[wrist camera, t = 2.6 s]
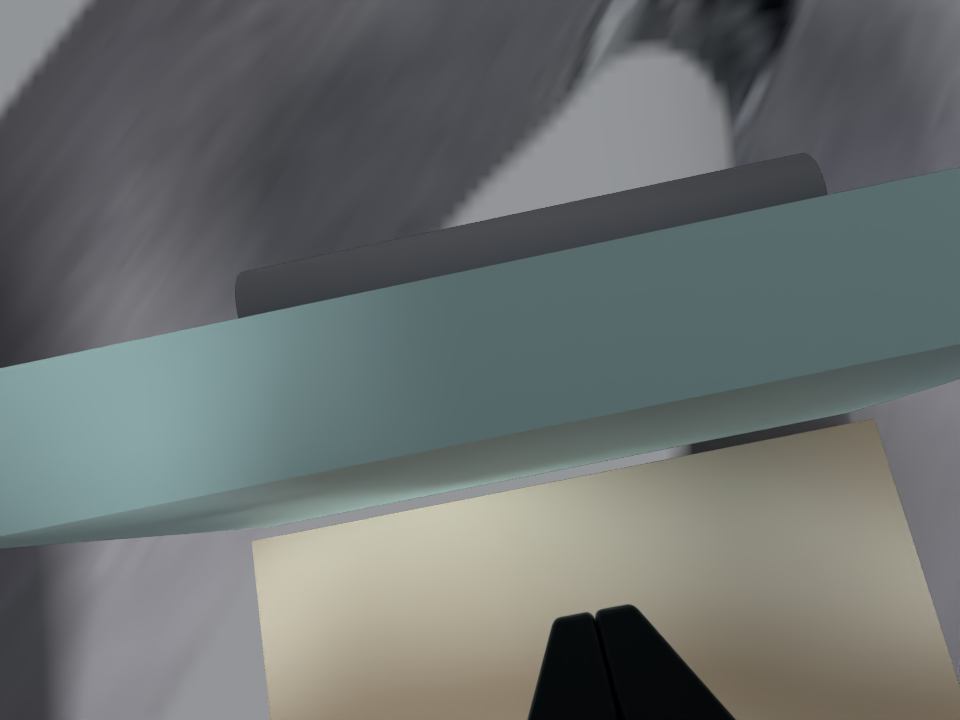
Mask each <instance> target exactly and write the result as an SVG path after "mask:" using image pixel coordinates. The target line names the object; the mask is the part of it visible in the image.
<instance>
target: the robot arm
mask: <svg viewBox="0 0 960 720" xmlns="http://www.w3.org/2000/svg"><path fill="white" fill-rule="evenodd" d="M527 720H736V719H735V718H734V716H733V715H732V714H731V713H730V712H729V711H728V710H727V709H726V707H725V706H724V705H723V704H722V703H721V702H720V701H719V700H718V698H717V697H716V696H715V695H714V694H713V693H712V692H711V690H710V689H709V688H708V687H707V686H706V685H705V684H704V683H703V681H702V680H701V679H700V678H699V677H698V676H697V675H696V674H695V672H694V671H693V670H692V669H691V668H690V667H689V666H688V665H687V663H686V662H685V661H684V660H683V659H682V658H681V657H680V655H679V654H678V653H677V652H676V651H675V650H674V649H673V648H672V646H671V645H670V644H669V643H668V642H667V641H666V640H665V639H664V637H663V636H662V635H661V634H660V633H659V632H658V631H657V629H656V628H655V627H654V626H653V625H652V624H651V623H650V622H649V620H648V619H647V618H646V617H645V616H644V615H643V614H642V613H641V611H640V610H639V609H638V608H636V607H635V606H634V605H631V604H625V605H620V606H614V607H609V608H604V609H600V610H598V611H597V612H596V614H595V618H594V616H593V615H592V614H591V613H589V612H583V613H578V614H572V615H567V616H562V617H558V618H556V619H555V620H554V622H553V624H552V626H551V630H550V633H549V637H548V641H547V645H546V649H545V653H544V656H543V660H542V664H541V668H540V672H539V676H538V679H537V683H536V687H535V691H534V695H533V699H532V702H531V706H530V710H529V714H528V718H527Z"/></svg>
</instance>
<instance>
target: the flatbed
mask: <svg viewBox="0 0 960 720" xmlns="http://www.w3.org/2000/svg"><path fill="white" fill-rule="evenodd" d="M252 549H253V559H254V568H255V578H256V586H257V596H258V605H259V615H260V624H261V634H262V643H263V653H264V661H265V671H266V681H267V689H268V699H269V708H270V718H271V720H527V718H528V714H529V710H530V706H531V702H532V699H533V695H534V691H535V687H536V683H537V679H538V676H539V672H540V668H541V664H542V660H543V656H544V653H545V649H546V645H547V641H548V637H549V633H550V630H551V626H552V624H553V622H554V620H555V619H556V618H558V617H562V616H567V615H572V614H578V613H583V612H589V613H591V614H592V615H593V616H594V618H595V614H596V612H597V611H598V610H600V609H604V608H609V607H614V606H620V605H625V604H631V605H634V606H635V607H636V608H638V609H639V610H640V611H641V613H642V614H643V615H644V616H645V617H646V618H647V619H648V620H649V622H650V623H651V624H652V625H653V626H654V627H655V628H656V629H657V631H658V632H659V633H660V634H661V635H662V636H663V637H664V639H665V640H666V641H667V642H668V643H669V644H670V645H671V646H672V648H673V649H674V650H675V651H676V652H677V653H678V654H679V655H680V657H681V658H682V659H683V660H684V661H685V662H686V663H687V665H688V666H689V667H690V668H691V669H692V670H693V671H694V672H695V674H696V675H697V676H698V677H699V678H700V679H701V680H702V681H703V683H704V684H705V685H706V686H707V687H708V688H709V689H710V690H711V692H712V693H713V694H714V695H715V696H716V697H717V698H718V700H719V701H720V702H721V703H722V704H723V705H724V706H725V707H726V709H727V710H728V711H729V712H730V713H731V714H732V715H733V716H734V718H735V719H736V720H960V686H959V682H958V679H957V676H956V673H955V670H954V667H953V664H952V661H951V657H950V654H949V651H948V648H947V645H946V642H945V639H944V636H943V633H942V629H941V626H940V623H939V620H938V617H937V614H936V611H935V608H934V604H933V601H932V598H931V595H930V592H929V589H928V586H927V583H926V579H925V576H924V573H923V570H922V567H921V564H920V561H919V558H918V555H917V551H916V548H915V545H914V542H913V539H912V536H911V533H910V530H909V526H908V523H907V520H906V517H905V514H904V511H903V508H902V505H901V502H900V498H899V495H898V492H897V489H896V486H895V483H894V480H893V477H892V473H891V470H890V467H889V464H888V461H887V458H886V455H885V452H884V449H883V445H882V442H881V439H880V436H879V433H878V430H877V427H876V424H875V420H874V419H869V420H864V421H859V422H854V423H849V424H844V425H839V426H834V427H828V428H823V429H818V430H813V431H808V432H803V433H798V434H793V435H788V436H783V437H778V438H773V439H768V440H763V441H757V442H752V443H747V444H742V445H737V446H732V447H727V448H722V449H717V450H712V451H707V452H702V453H697V454H692V455H686V456H681V457H676V458H671V459H666V460H661V461H656V462H651V463H646V464H641V465H636V466H631V467H626V468H621V469H616V470H610V471H605V472H601V473H595V474H590V475H585V476H580V477H576V478H570V479H565V480H560V481H555V482H550V483H545V484H539V485H535V486H529V487H524V488H519V489H515V490H510V491H504V492H499V493H494V494H489V495H484V496H479V497H474V498H468V499H463V500H459V501H454V502H448V503H443V504H438V505H433V506H428V507H423V508H418V509H413V510H408V511H403V512H397V513H393V514H387V515H382V516H378V517H372V518H367V519H362V520H357V521H352V522H347V523H342V524H337V525H332V526H326V527H322V528H316V529H311V530H306V531H301V532H296V533H291V534H286V535H281V536H276V537H271V538H266V539H260V540H255V541H252Z"/></svg>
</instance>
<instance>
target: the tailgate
mask: <svg viewBox="0 0 960 720" xmlns="http://www.w3.org/2000/svg"><path fill="white" fill-rule="evenodd" d="M235 297H236V307H237V313H238V318H239V319H234V320H229V321H224V322H219V323H215V324H210V325H205V326H200V327H196V328H191V329H186V330H181V331H176V332H172V333H167V334H162V335H157V336H153V337H148V338H143V339H138V340H134V341H129V342H124V343H119V344H114V345H110V346H105V347H100V348H95V349H91V350H86V351H81V352H76V353H71V354H67V355H62V356H57V357H52V358H48V359H43V360H38V361H33V362H29V363H24V364H19V365H14V366H9V367H5V368H0V548H13V547H25V546H38V545H50V544H63V543H76V542H88V541H101V540H114V539H126V538H139V537H152V536H164V535H177V534H190V533H202V532H215V531H228V530H240V529H253V528H266V527H274V526H279V525H284V524H289V523H293V522H299V521H304V520H309V519H314V518H319V517H324V516H329V515H334V514H339V513H344V512H349V511H354V510H360V509H365V508H369V507H374V506H380V505H384V504H390V503H395V502H400V501H405V500H410V499H415V498H420V497H425V496H430V495H435V494H440V493H446V492H450V491H455V490H460V489H466V488H471V487H476V486H481V485H486V484H491V483H496V482H501V481H506V480H511V479H516V478H521V477H526V476H531V475H536V474H541V473H546V472H552V471H557V470H561V469H567V468H572V467H577V466H582V465H587V464H592V463H597V462H602V461H607V460H612V459H618V458H623V457H628V456H633V455H637V454H643V453H647V452H652V451H658V450H663V449H668V448H673V447H678V446H683V445H688V444H693V443H698V442H703V441H709V440H714V439H719V438H724V437H729V436H734V435H739V434H744V433H749V432H754V431H759V430H764V429H769V428H774V427H779V426H784V425H789V424H795V423H800V422H805V421H810V420H815V419H820V418H825V417H830V416H835V415H840V414H845V413H850V412H853V411H857V410H860V409H863V408H866V407H870V406H873V405H876V404H879V403H883V402H886V401H889V400H892V399H896V398H899V397H902V396H906V395H909V394H912V393H915V392H919V391H922V390H925V389H928V388H932V387H935V386H938V385H941V384H945V383H948V382H951V381H955V380H958V379H960V167H959V168H954V169H950V170H945V171H940V172H935V173H930V174H926V175H921V176H916V177H911V178H907V179H902V180H897V181H892V182H888V183H883V184H878V185H873V186H868V187H864V188H859V189H854V190H849V191H845V192H840V193H835V194H830V195H828V194H827V189H826V185H825V182H824V179H823V176H822V173H821V171H820V169H819V167H818V165H817V163H816V162H815V160H814V159H813V158H812V157H811V156H810V155H809V154H806V153H800V154H796V155H791V156H786V157H781V158H777V159H772V160H767V161H763V162H758V163H753V164H748V165H744V166H739V167H734V168H730V169H725V170H720V171H715V172H711V173H706V174H701V175H697V176H692V177H688V178H683V179H678V180H673V181H668V182H664V183H659V184H655V185H650V186H645V187H640V188H635V189H631V190H626V191H622V192H616V193H612V194H607V195H602V196H598V197H593V198H588V199H583V200H579V201H574V202H569V203H565V204H560V205H555V206H550V207H546V208H541V209H537V210H532V211H527V212H523V213H518V214H513V215H508V216H503V217H499V218H494V219H489V220H485V221H480V222H475V223H470V224H466V225H461V226H456V227H451V228H447V229H442V230H437V231H433V232H428V233H423V234H418V235H414V236H409V237H404V238H400V239H395V240H390V241H385V242H381V243H376V244H371V245H367V246H362V247H357V248H352V249H348V250H343V251H338V252H334V253H329V254H324V255H319V256H315V257H310V258H305V259H300V260H296V261H291V262H286V263H282V264H277V265H272V266H267V267H263V268H258V269H253V270H249V271H244V272H241V273H239V275H238V277H237V280H236V286H235Z"/></svg>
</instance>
